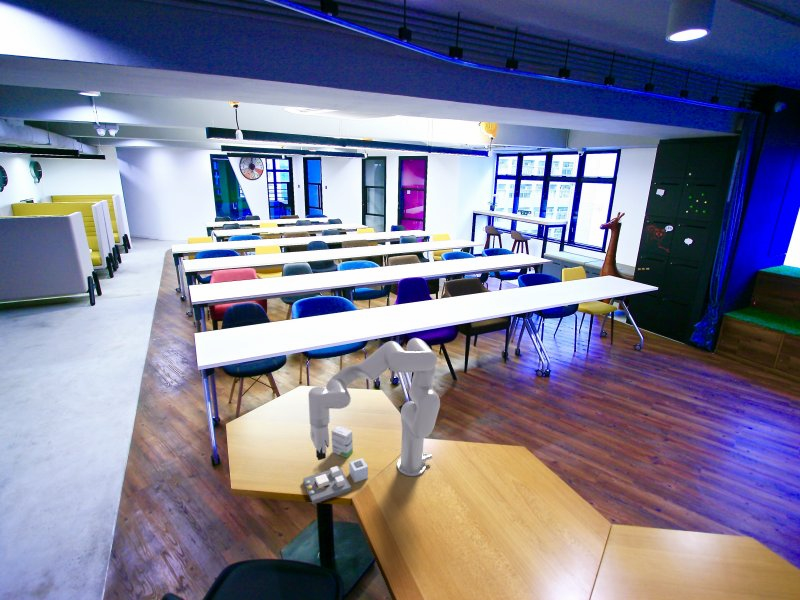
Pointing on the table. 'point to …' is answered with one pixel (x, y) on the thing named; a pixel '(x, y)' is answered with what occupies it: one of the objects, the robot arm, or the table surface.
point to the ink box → (342, 441)
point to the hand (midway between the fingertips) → (321, 457)
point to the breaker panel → (335, 487)
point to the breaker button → (322, 480)
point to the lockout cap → (358, 470)
